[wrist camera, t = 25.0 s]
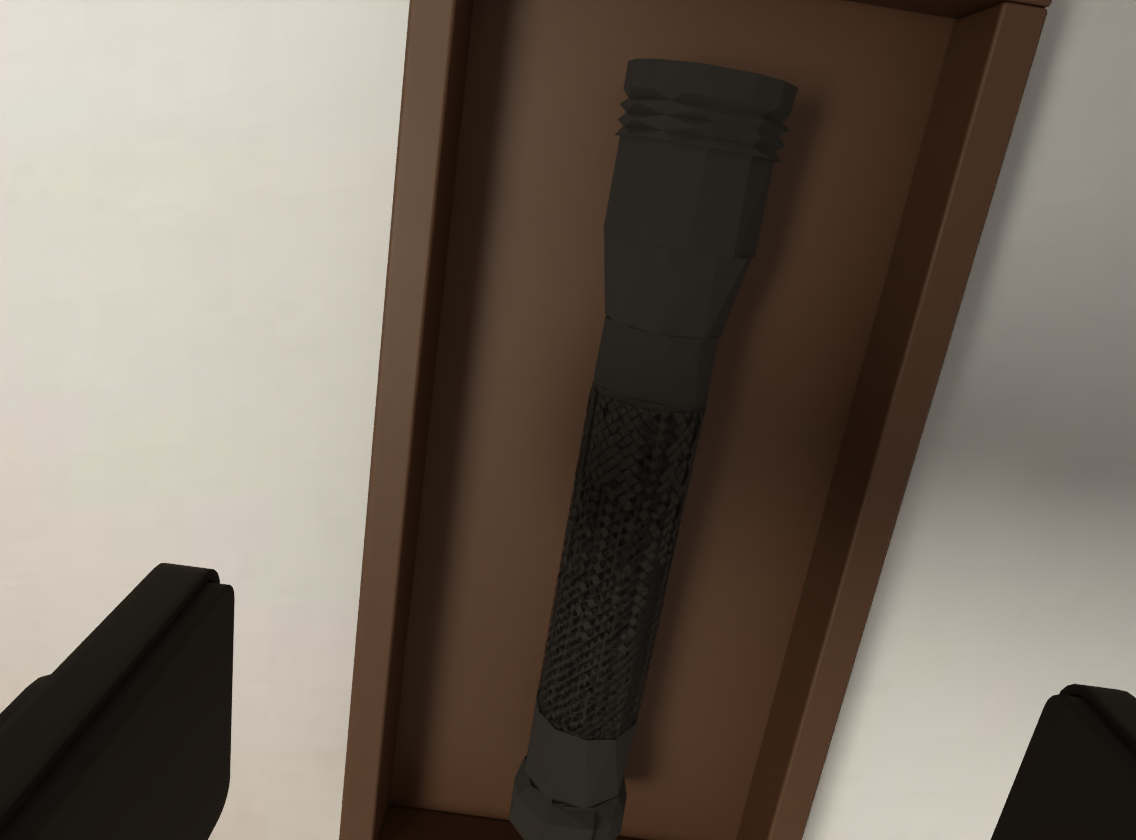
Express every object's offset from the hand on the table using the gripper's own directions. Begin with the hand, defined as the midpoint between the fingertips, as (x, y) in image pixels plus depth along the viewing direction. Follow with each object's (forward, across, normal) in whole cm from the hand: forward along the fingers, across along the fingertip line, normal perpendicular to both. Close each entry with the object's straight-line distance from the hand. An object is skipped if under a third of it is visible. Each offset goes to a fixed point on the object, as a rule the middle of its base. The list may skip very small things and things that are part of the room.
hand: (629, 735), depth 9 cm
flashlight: (+10, -1, +1) cm, 10 cm away
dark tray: (+10, -1, 0) cm, 10 cm away
